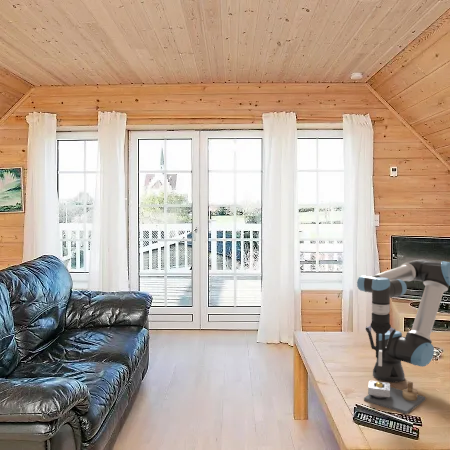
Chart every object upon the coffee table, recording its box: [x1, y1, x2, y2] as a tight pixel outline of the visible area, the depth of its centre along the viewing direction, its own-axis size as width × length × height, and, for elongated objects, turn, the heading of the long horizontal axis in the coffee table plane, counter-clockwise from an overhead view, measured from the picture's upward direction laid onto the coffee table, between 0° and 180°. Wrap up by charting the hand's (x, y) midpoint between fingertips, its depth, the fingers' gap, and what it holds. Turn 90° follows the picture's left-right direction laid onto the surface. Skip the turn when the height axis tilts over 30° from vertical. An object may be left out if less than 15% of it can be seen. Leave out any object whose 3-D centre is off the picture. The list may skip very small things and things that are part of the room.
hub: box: [371, 381, 387, 400], centre depth 203 cm, size 7×7×6 cm
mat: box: [363, 386, 426, 415], centre depth 202 cm, size 20×19×1 cm
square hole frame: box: [367, 380, 391, 397], centre depth 203 cm, size 9×9×3 cm
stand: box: [402, 381, 418, 401], centre depth 201 cm, size 6×6×7 cm
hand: (380, 365), depth 203 cm, fingers closed
